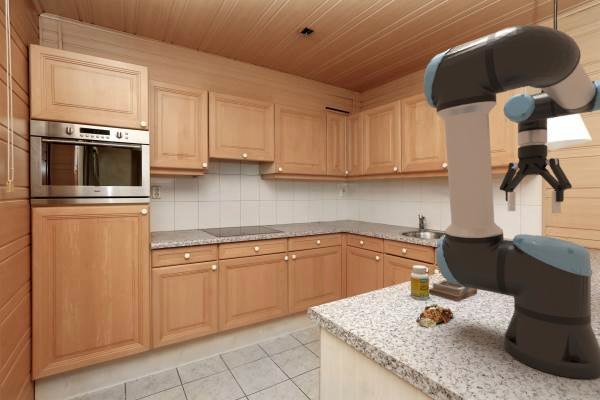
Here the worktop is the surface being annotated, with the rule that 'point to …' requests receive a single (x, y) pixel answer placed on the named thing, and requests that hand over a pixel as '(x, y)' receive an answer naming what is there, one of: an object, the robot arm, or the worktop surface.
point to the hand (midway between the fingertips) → (532, 212)
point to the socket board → (451, 291)
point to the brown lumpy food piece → (434, 316)
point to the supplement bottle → (419, 283)
